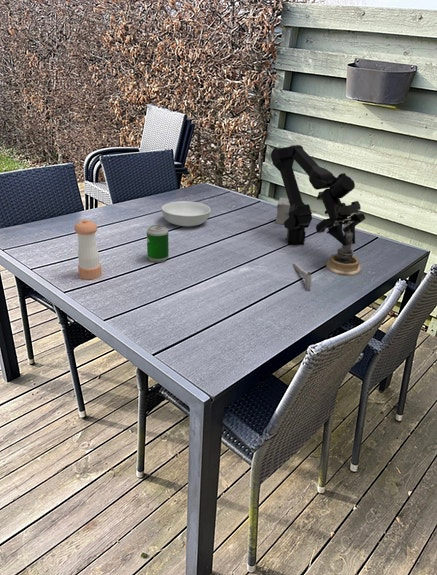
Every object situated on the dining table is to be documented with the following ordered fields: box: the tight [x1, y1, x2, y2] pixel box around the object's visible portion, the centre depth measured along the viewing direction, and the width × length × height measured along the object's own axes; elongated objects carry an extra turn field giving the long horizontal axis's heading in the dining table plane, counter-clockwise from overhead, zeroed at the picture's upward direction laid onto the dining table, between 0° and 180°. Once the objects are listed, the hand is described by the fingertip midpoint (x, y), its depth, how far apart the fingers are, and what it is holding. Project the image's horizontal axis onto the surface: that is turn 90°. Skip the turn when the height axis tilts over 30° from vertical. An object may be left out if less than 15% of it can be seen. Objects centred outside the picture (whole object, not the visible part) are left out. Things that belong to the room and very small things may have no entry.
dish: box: [325, 253, 362, 277], centre depth 170 cm, size 12×12×4 cm
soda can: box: [146, 224, 170, 263], centre depth 169 cm, size 8×8×12 cm
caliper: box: [292, 262, 312, 291], centre depth 162 cm, size 20×1×6 cm, turn 5°
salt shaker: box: [337, 229, 355, 264], centre depth 167 cm, size 6×6×12 cm
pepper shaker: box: [74, 218, 102, 280], centre depth 153 cm, size 7×7×19 cm
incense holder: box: [275, 197, 290, 225], centre depth 210 cm, size 10×8×10 cm
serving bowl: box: [161, 200, 212, 227], centre depth 205 cm, size 21×21×7 cm
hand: (349, 244), depth 165 cm, fingers closed on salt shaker, 4 cm apart
